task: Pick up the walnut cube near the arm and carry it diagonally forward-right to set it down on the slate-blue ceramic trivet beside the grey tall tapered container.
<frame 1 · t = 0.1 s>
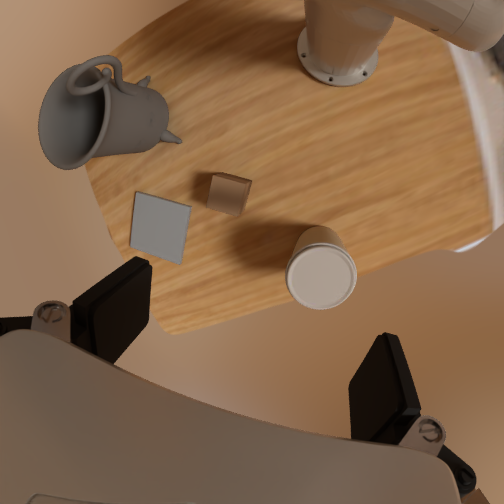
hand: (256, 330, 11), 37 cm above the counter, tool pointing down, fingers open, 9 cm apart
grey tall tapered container: (150, 117, 45), on the counter
walnut cube: (233, 190, 47), on the counter
trivet: (159, 227, 51), on the counter
coffee cup: (319, 248, 47), on the counter
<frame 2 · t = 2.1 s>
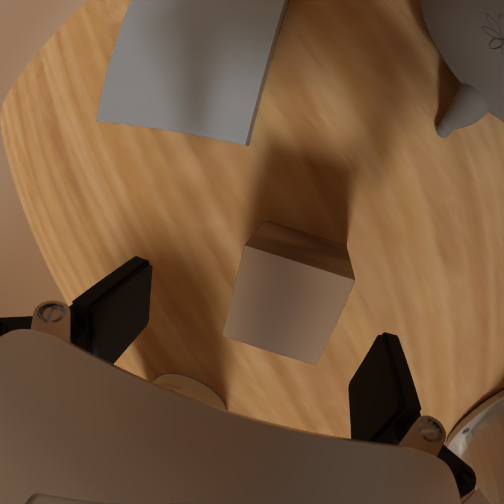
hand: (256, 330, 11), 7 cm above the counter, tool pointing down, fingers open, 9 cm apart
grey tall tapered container: (491, 61, 10), on the counter
walnut cube: (294, 270, 18), on the counter
trivet: (186, 49, 15), on the counter
coffee cup: (189, 401, 24), on the counter
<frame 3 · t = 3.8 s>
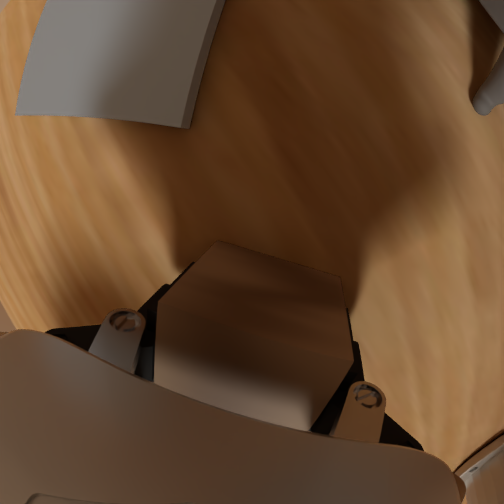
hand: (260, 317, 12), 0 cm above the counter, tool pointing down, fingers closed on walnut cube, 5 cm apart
walnut cube: (262, 311, 12), on the counter, touching gripper
trivet: (114, 10, 9), on the counter
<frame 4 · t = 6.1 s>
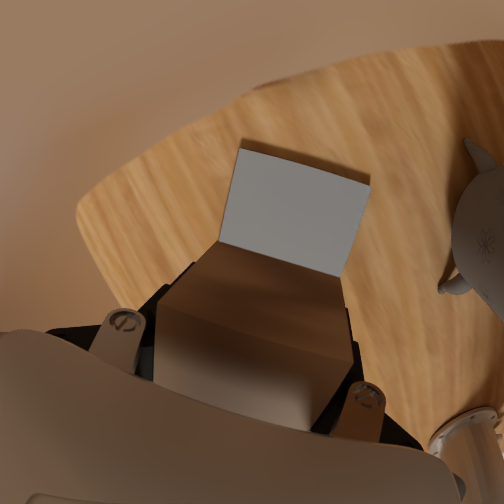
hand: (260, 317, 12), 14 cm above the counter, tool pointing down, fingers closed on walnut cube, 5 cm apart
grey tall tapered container: (488, 232, 21), on the counter
walnut cube: (262, 311, 12), point 14 cm above the counter, touching gripper
trivet: (288, 227, 25), on the counter
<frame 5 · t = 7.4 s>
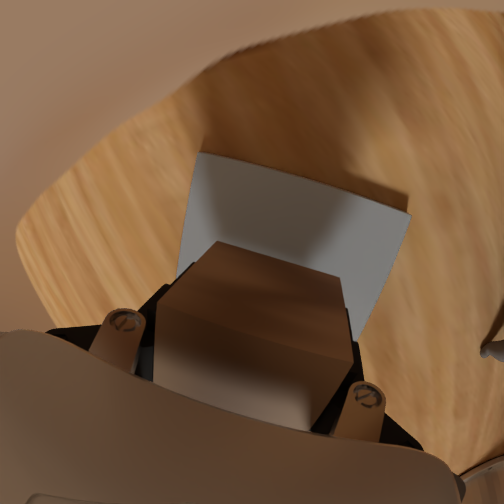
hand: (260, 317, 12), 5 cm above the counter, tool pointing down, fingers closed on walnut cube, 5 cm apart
walnut cube: (262, 311, 12), point 4 cm above the counter, touching gripper
trivet: (278, 276, 16), on the counter
when the fingers open (2 cm above the counter, at t = 8.6 s): walnut cube drops 1 cm, resting on trivet.
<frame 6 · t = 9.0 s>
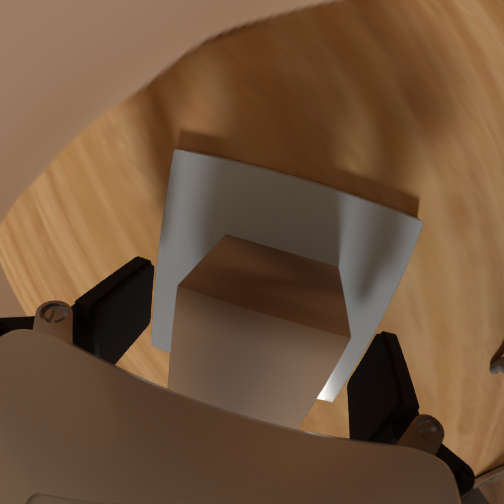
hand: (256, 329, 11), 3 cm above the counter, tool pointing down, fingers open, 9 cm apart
walnut cube: (267, 300, 13), point 1 cm above the counter, touching trivet
trivet: (268, 290, 14), on the counter
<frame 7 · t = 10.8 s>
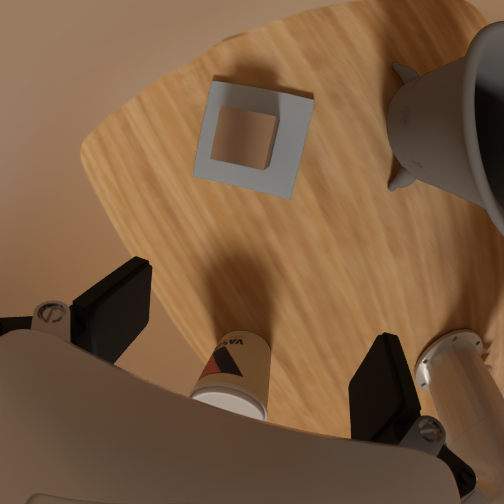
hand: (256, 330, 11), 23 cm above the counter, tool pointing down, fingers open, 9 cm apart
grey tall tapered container: (429, 138, 26), on the counter
walnut cube: (251, 138, 29), point 1 cm above the counter, touching trivet
trivet: (252, 137, 30), on the counter
coffee cup: (244, 350, 40), on the counter
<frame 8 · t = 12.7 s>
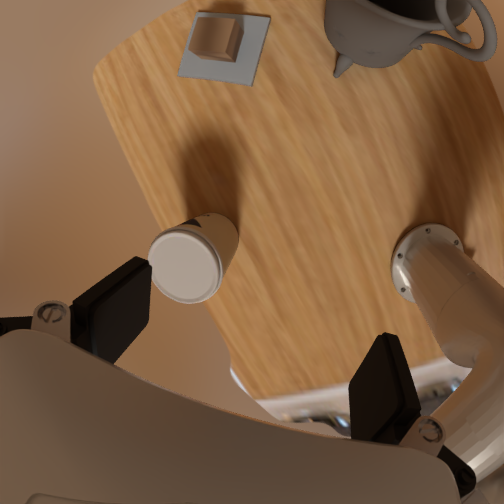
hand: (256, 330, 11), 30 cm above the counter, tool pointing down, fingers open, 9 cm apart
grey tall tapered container: (368, 42, 29), on the counter
walnut cube: (222, 45, 32), point 1 cm above the counter, touching trivet
trivet: (223, 46, 33), on the counter
coffee cup: (214, 237, 43), on the counter
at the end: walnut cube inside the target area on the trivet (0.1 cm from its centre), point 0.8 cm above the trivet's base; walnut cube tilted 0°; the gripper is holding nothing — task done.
